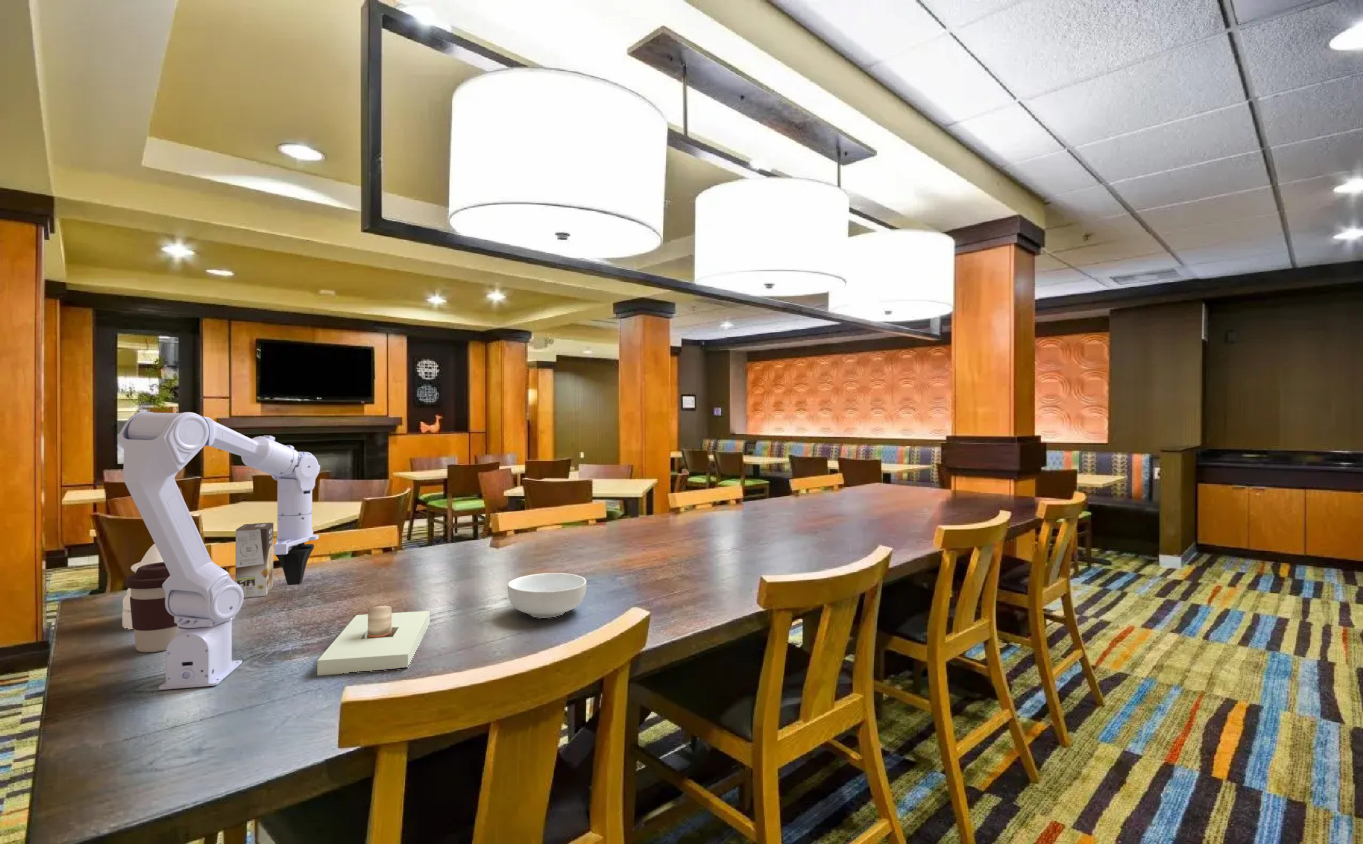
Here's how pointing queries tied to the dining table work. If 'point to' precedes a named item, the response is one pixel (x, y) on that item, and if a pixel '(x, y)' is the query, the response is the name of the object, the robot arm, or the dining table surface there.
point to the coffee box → (254, 559)
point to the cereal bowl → (547, 593)
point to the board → (374, 645)
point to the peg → (379, 622)
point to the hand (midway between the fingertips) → (294, 584)
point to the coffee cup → (150, 608)
